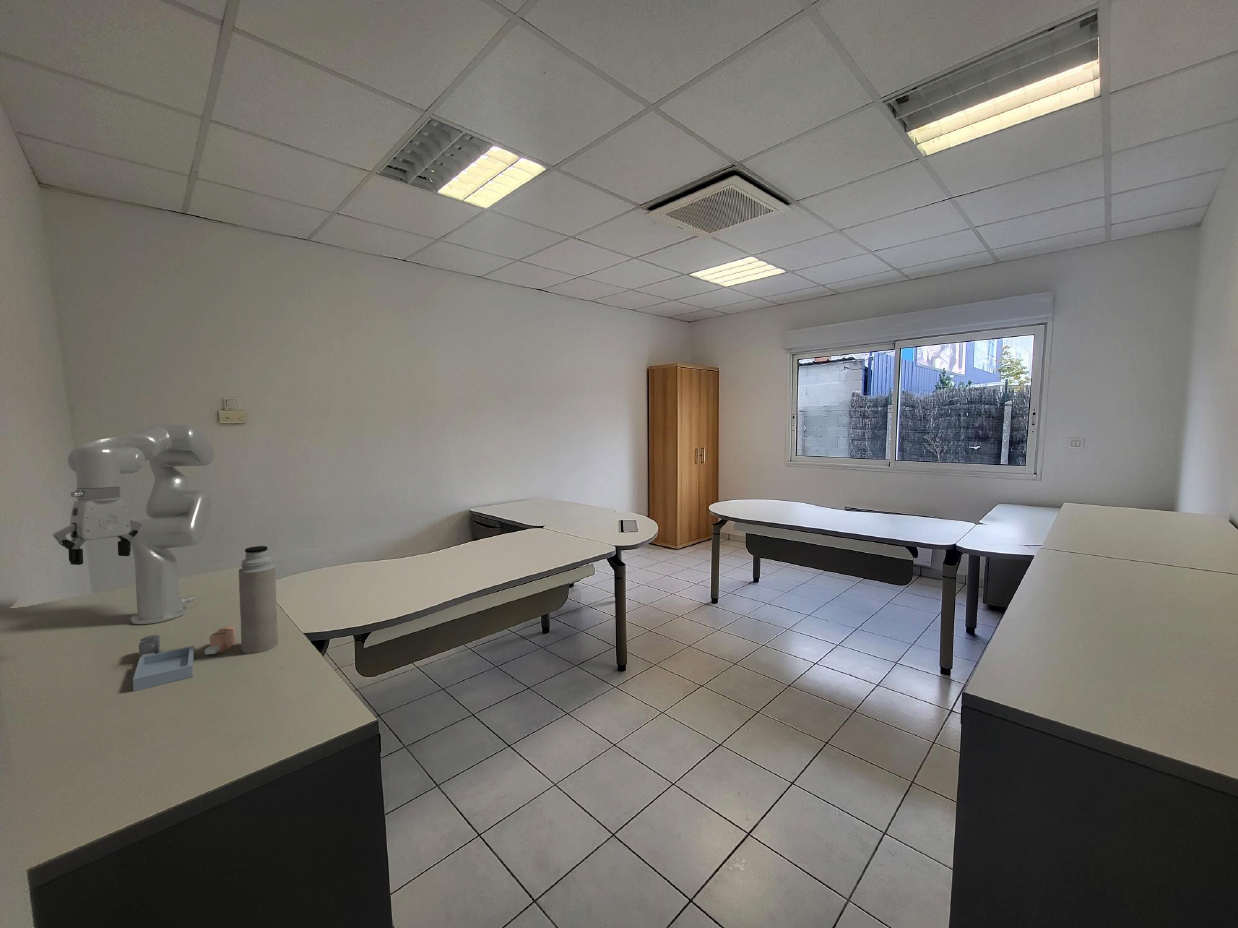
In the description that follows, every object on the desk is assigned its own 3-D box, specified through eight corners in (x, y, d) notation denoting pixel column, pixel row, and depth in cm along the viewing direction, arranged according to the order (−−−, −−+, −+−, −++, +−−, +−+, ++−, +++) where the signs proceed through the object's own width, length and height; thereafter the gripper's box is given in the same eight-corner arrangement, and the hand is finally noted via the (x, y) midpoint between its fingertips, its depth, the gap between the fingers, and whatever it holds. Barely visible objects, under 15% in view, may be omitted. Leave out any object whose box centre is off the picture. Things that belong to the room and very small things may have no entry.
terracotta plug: (223, 642, 133) (222, 626, 133) (238, 640, 134) (237, 625, 134) (202, 658, 124) (201, 642, 123) (218, 656, 125) (217, 640, 124)
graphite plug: (142, 653, 126) (141, 637, 126) (160, 649, 128) (160, 633, 128) (137, 667, 119) (136, 650, 118) (157, 663, 121) (156, 646, 121)
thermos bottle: (267, 638, 136) (263, 542, 134) (284, 644, 132) (280, 545, 131) (235, 649, 129) (231, 548, 127) (252, 656, 125) (248, 552, 123)
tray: (140, 667, 118) (140, 656, 118) (194, 655, 125) (193, 645, 125) (133, 691, 108) (132, 679, 108) (192, 676, 114) (191, 665, 114)
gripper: (65, 498, 113) (67, 568, 114) (149, 491, 130) (151, 553, 131) (41, 497, 115) (44, 567, 115) (128, 491, 132) (130, 552, 132)
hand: (101, 559), depth 123 cm, fingers open, 9 cm apart
